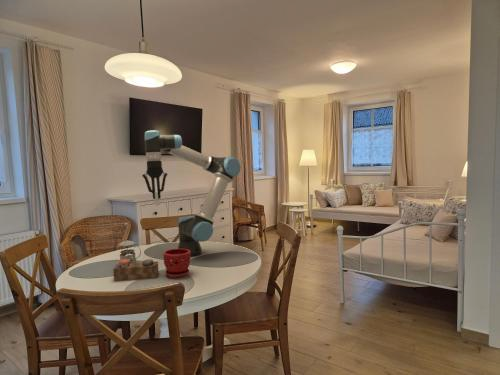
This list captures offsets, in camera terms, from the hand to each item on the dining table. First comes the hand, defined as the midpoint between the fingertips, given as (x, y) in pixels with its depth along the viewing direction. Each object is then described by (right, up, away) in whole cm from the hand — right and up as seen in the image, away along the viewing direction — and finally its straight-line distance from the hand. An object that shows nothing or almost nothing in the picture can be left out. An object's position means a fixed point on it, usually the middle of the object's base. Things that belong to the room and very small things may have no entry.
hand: (157, 204), depth 170 cm
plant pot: (+13, -35, -10) cm, 38 cm away
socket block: (-7, -35, -11) cm, 38 cm away
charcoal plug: (-1, -34, -11) cm, 36 cm away
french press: (-15, -35, +2) cm, 38 cm away
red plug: (-12, -34, -12) cm, 38 cm away
